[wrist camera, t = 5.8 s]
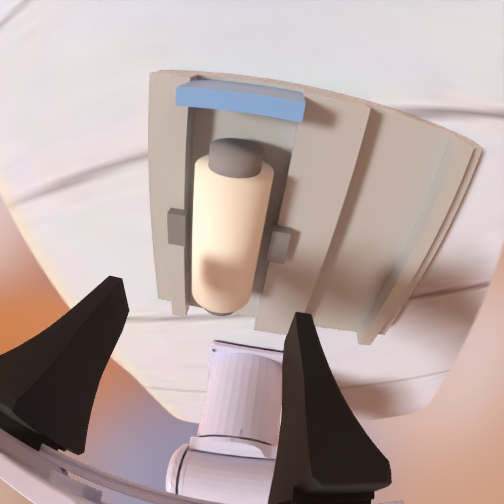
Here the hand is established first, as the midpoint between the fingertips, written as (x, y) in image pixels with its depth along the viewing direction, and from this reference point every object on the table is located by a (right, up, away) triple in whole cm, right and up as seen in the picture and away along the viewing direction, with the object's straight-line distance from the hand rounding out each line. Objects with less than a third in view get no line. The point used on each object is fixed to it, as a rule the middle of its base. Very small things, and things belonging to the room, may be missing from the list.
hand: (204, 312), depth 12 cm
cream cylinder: (+1, +4, +5) cm, 7 cm away
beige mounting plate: (+5, +4, +6) cm, 9 cm away
